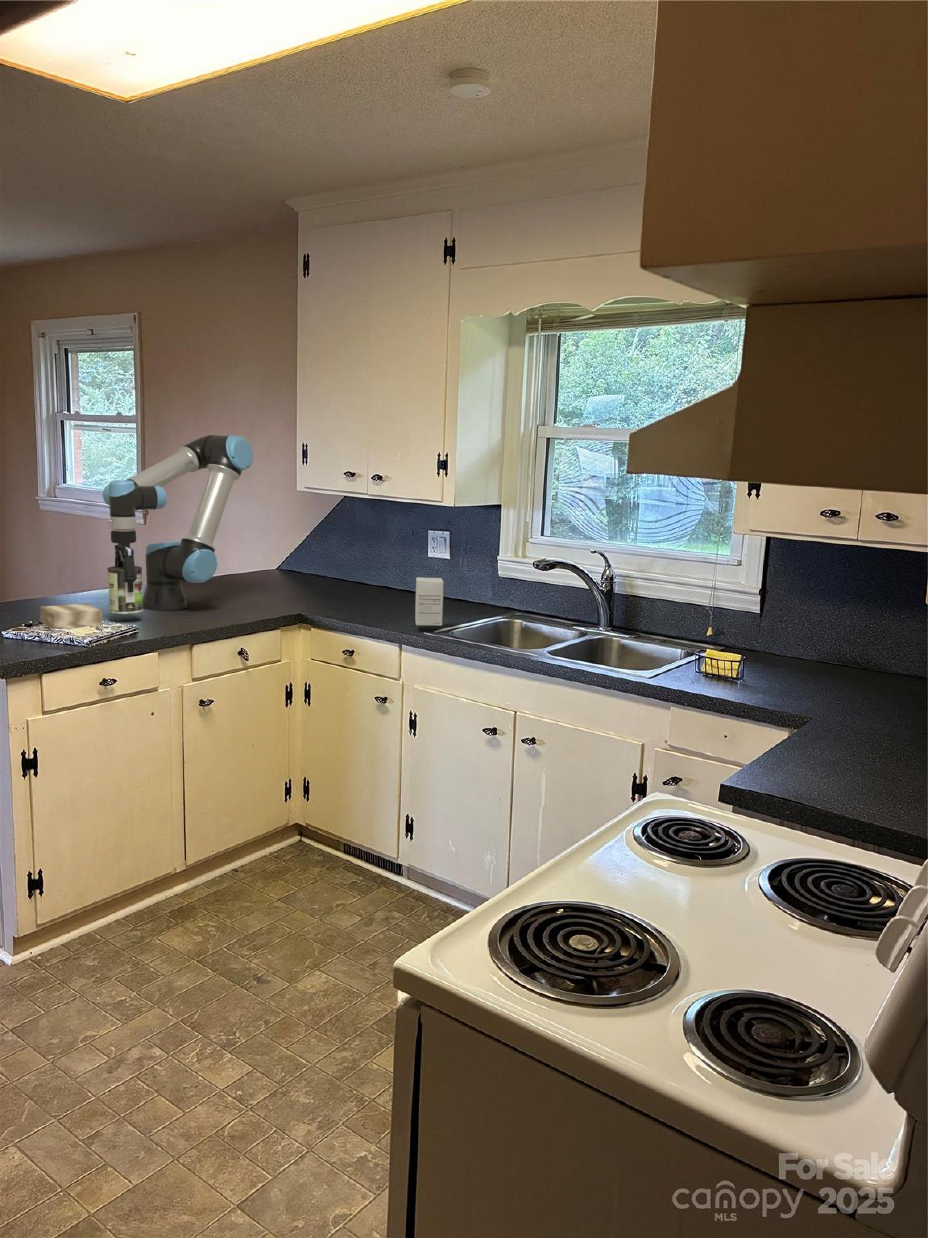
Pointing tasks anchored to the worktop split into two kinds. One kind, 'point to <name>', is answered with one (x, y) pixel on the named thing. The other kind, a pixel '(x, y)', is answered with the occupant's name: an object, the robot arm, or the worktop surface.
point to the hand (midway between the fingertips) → (126, 599)
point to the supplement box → (429, 601)
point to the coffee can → (118, 591)
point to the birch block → (71, 616)
